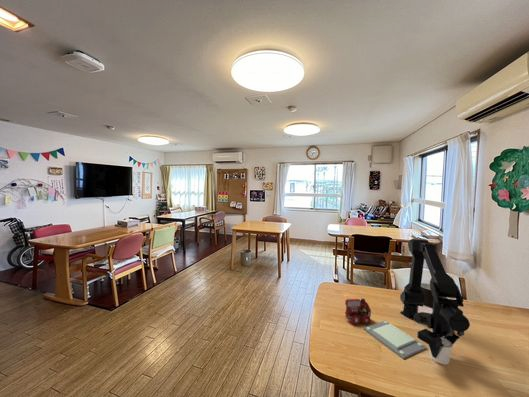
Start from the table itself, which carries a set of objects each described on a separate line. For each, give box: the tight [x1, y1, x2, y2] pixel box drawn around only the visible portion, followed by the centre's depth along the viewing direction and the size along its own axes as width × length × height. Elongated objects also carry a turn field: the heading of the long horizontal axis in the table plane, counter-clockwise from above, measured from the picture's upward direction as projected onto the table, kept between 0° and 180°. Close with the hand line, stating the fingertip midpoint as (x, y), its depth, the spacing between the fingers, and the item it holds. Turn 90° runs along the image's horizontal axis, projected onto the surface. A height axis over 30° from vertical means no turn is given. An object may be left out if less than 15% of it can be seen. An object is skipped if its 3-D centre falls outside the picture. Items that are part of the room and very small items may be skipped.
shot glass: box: [428, 337, 454, 365], centre depth 81 cm, size 7×7×7 cm
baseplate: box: [363, 320, 427, 360], centre depth 92 cm, size 14×18×2 cm
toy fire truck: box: [344, 298, 372, 326], centre depth 104 cm, size 7×12×10 cm, turn 96°
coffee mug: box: [421, 282, 434, 309], centre depth 118 cm, size 12×9×10 cm
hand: (439, 354), depth 82 cm, fingers closed on shot glass, 6 cm apart
